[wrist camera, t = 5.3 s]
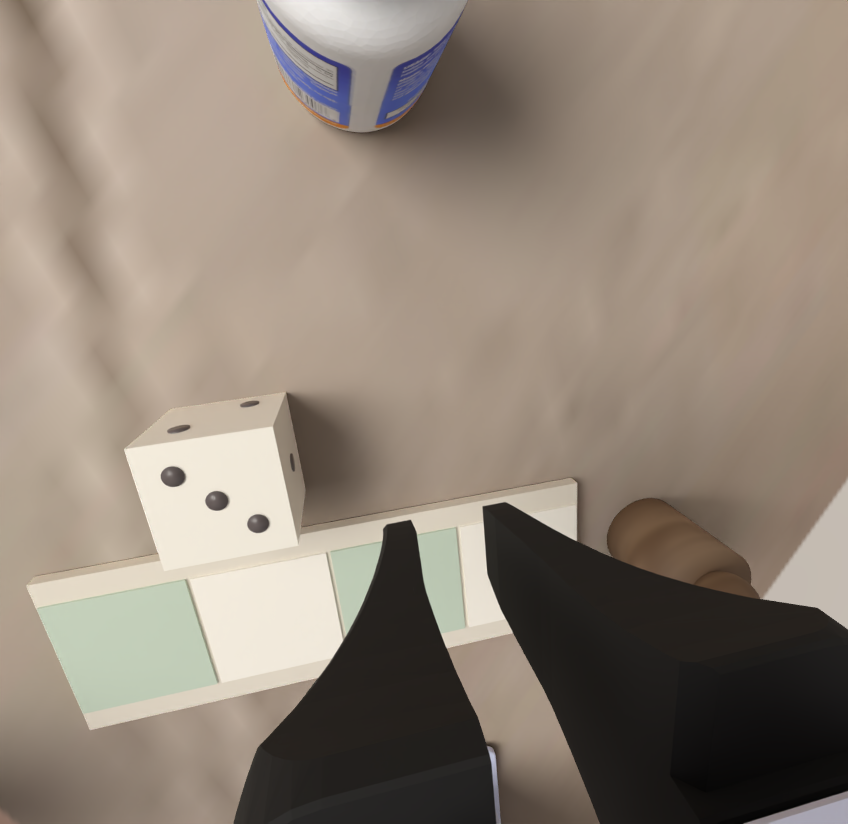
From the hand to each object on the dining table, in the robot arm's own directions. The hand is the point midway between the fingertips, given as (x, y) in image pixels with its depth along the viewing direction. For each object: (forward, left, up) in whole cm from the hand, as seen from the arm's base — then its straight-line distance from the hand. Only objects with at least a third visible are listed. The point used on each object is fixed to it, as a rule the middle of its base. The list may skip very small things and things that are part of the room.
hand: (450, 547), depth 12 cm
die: (0, +7, -10) cm, 12 cm away
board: (-8, +4, -9) cm, 13 cm away
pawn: (-8, -12, -9) cm, 17 cm away
